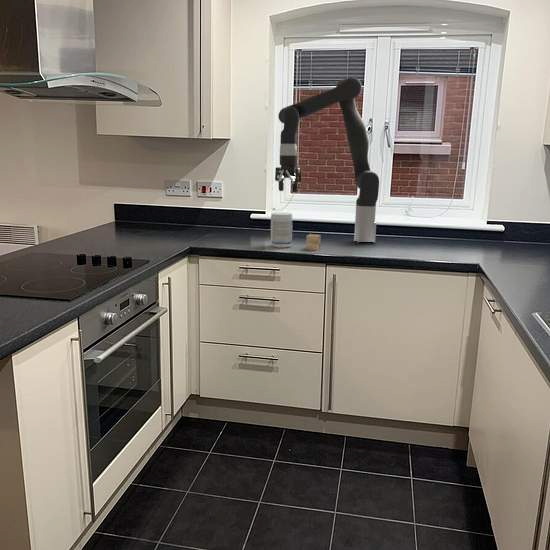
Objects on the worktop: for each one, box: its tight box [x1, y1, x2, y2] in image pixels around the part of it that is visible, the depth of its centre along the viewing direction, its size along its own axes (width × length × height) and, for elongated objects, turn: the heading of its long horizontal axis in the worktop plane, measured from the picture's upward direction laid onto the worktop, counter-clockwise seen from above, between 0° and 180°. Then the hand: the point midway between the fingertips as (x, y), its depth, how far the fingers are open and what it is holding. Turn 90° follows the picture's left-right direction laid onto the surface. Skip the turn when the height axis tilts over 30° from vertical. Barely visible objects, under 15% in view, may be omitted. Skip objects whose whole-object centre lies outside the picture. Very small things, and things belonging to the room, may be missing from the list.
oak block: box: [305, 233, 321, 251], centre depth 256 cm, size 5×5×6 cm
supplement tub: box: [270, 212, 293, 249], centre depth 259 cm, size 10×10×15 cm
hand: (287, 191), depth 260 cm, fingers open, 8 cm apart
